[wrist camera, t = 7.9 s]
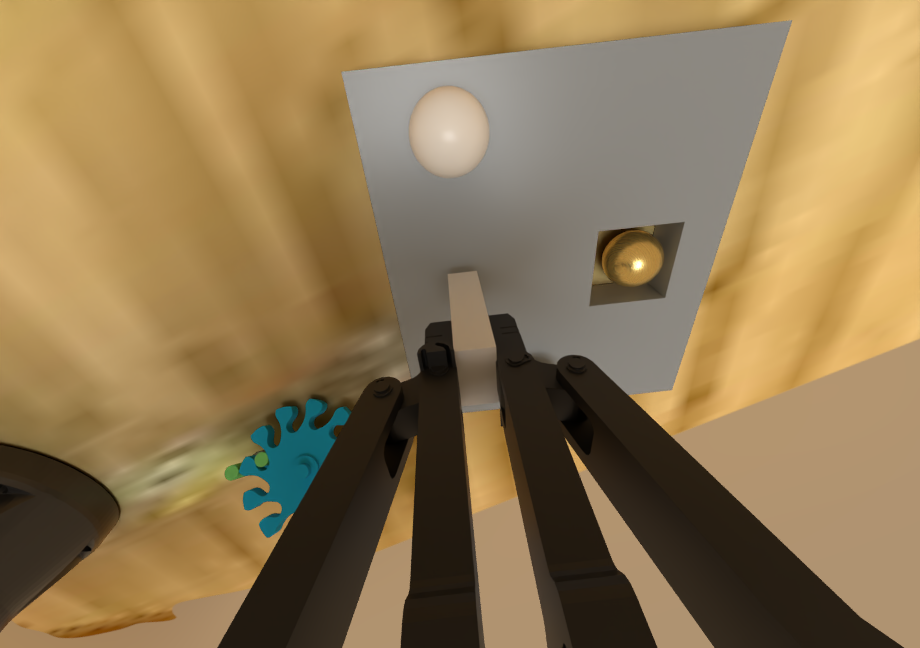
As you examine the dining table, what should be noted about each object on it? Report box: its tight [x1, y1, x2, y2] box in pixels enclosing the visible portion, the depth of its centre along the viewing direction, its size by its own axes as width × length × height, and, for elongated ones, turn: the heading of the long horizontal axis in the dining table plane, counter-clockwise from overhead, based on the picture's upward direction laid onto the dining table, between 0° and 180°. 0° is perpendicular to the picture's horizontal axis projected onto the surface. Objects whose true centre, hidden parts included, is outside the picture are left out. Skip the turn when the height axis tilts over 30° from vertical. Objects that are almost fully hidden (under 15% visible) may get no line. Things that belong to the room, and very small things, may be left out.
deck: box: [341, 20, 792, 413], centre depth 20 cm, size 18×20×2 cm
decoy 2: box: [409, 86, 489, 178], centre depth 14 cm, size 3×3×3 cm
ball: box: [602, 230, 664, 287], centre depth 20 cm, size 3×3×3 cm
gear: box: [225, 399, 351, 538], centre depth 27 cm, size 11×6×10 cm
